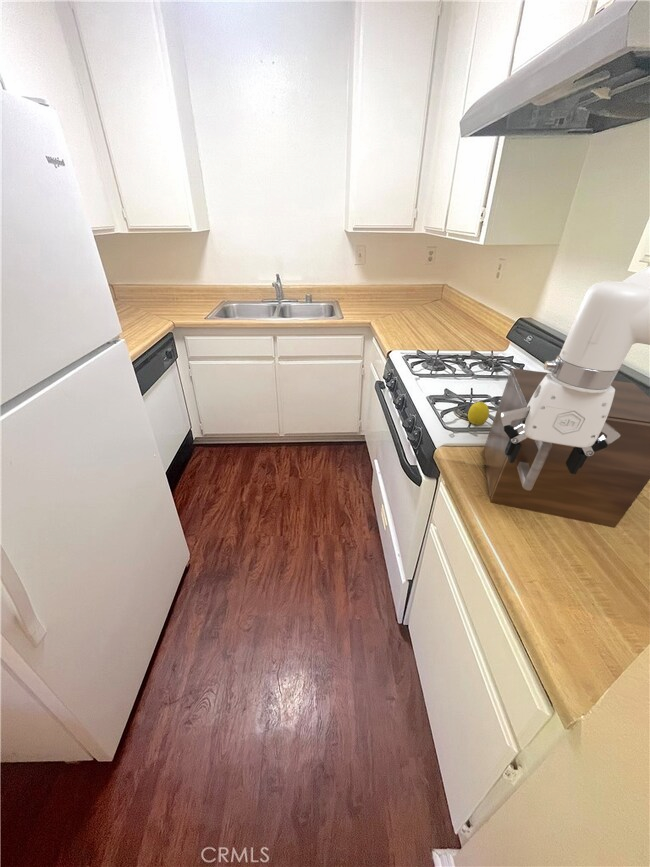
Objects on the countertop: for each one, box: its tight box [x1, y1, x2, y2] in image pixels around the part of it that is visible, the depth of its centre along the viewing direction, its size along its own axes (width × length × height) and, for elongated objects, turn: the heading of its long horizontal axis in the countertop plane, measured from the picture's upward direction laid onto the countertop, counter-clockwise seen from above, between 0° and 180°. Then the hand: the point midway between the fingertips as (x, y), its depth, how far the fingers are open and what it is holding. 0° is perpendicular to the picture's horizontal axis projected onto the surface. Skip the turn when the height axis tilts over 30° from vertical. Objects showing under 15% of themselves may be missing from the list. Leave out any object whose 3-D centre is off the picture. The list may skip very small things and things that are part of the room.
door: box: [489, 418, 650, 529], centre depth 64 cm, size 8×24×24 cm, turn 74°
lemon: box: [467, 401, 490, 426], centre depth 101 cm, size 6×6×8 cm
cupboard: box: [483, 368, 650, 499], centre depth 75 cm, size 18×24×24 cm
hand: (539, 463), depth 61 cm, fingers open, 9 cm apart
